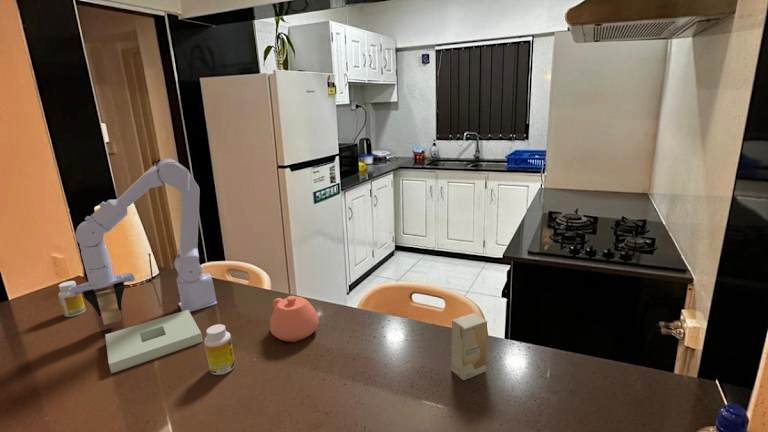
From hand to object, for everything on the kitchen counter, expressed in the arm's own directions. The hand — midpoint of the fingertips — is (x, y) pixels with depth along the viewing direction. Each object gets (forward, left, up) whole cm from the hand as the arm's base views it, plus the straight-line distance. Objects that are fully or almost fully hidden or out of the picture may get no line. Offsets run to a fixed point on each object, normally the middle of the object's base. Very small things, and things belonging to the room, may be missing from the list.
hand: (110, 311), depth 114 cm
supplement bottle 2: (-19, +39, -5) cm, 44 cm away
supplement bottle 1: (+9, -19, -5) cm, 22 cm away
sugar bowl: (-38, +35, -5) cm, 52 cm away
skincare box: (-61, +75, -5) cm, 97 cm away
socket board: (-8, +16, -5) cm, 19 cm away
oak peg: (0, 0, -2) cm, 2 cm away
